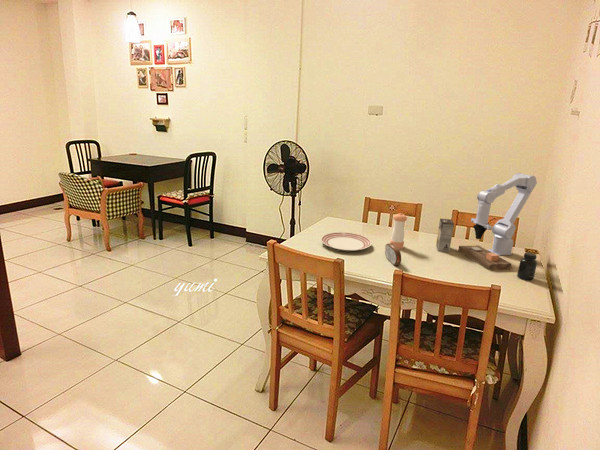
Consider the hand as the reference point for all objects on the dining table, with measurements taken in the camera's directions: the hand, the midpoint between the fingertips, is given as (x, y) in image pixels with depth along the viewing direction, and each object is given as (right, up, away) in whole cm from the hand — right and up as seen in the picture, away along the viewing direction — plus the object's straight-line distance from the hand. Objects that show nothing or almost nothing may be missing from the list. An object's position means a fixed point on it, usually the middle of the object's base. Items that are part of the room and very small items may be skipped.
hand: (478, 238), depth 208 cm
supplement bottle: (+11, -18, -24) cm, 32 cm away
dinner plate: (-69, -4, +8) cm, 70 cm away
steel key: (0, -8, +2) cm, 8 cm away
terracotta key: (+2, -10, -10) cm, 15 cm away
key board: (+1, -11, -3) cm, 11 cm away
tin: (-48, -11, -12) cm, 51 cm away
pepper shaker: (-41, -5, +10) cm, 42 cm away
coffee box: (-15, -6, +10) cm, 19 cm away
